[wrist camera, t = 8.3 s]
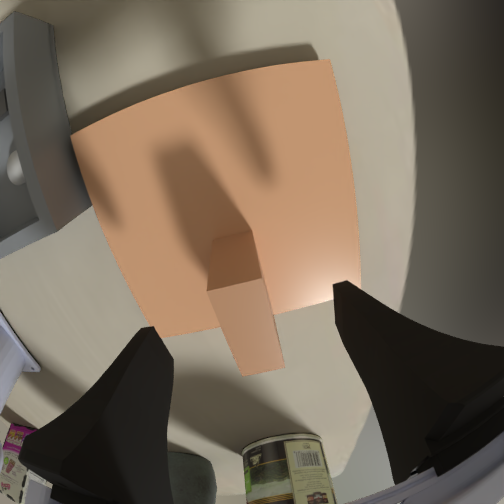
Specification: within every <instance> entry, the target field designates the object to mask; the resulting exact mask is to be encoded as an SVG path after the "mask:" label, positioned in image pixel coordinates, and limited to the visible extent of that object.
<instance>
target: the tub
mask: <svg viewBox="0 0 504 504" xmlns="http://www.w3.org/2000/svg"><path fill="white" fill-rule="evenodd" d="M71 135H72V132H71V129H70V125H69V121H68V116H67V112H66V108H65V103H64V99H63V94H62V88H61V83H60V77H59V71H58V65H57V58H56V50H55V40H54V29H53V25H51V24H49V23H46V22H44V21H41V20H38V19H36V18H33V17H30V16H27V15H25V14H22V13H19V12H16V11H14V12H13V13H12V14H10V15H9V16H8V17H7V18H6V19H5V20H4V21H3V22H2V23H1V24H0V259H1V258H3V257H5V256H7V255H9V254H11V253H13V252H15V251H17V250H19V249H21V248H23V247H25V246H27V245H29V244H31V243H33V242H35V241H37V240H40V239H42V238H44V237H46V236H48V235H51V234H53V233H55V232H57V231H59V230H60V229H61V228H62V227H64V226H65V225H66V224H68V223H69V222H70V221H72V220H73V219H74V218H76V217H77V216H78V215H80V214H81V213H82V212H84V211H85V210H87V209H88V208H89V207H91V206H92V202H91V199H90V197H89V194H88V191H87V188H86V185H85V183H84V180H83V177H82V174H81V171H80V167H79V164H78V161H77V158H76V154H75V151H74V148H73V144H72V141H71V137H70V136H71Z"/></svg>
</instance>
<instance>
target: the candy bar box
mask: <svg viewBox="0 0 504 504" xmlns="http://www.w3.org/2000/svg"><path fill="white" fill-rule="evenodd" d="M36 430H38V429H33V428H29V427H24V426H20V425H16V424H12V423H11V426H10V428H9V431H8V433H7V436H6V439H5V442H4V445H3V448H2V449H3V455H4V458H3V466H2V470H1V473H0V492H1V493H2V494H4V495H5V496H7V497H8V498H10V499H12V500H13V501H14V502H16V503H18V504H24V503H25V498H26V494H27V489H28V485H29V481H30V480H34V481H36V482H38V483H40V484H43V485H45V486H46V481H47V480H45V479H43V478H42V477H40V476H38V475H37V474H35V473H34V472H32V471H31V470H29V469H28V468H26V467H25V466H24V465H22V464H21V463H20V462H19V460H18V456H19V453H20V450H21V447H22V444H23V441H24V438H25V436H27V435H29V434H31V433H33V432H34V431H36Z"/></svg>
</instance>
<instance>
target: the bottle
mask: <svg viewBox="0 0 504 504" xmlns="http://www.w3.org/2000/svg"><path fill="white" fill-rule="evenodd" d="M167 456H168V470H169V478H170V485H171V491H172V496H173V501H174V504H215V500H216V492H217V485H216V479H215V473H214V470H213V467H212V464H211V462H210V461H208V460H207V459H205V458H202V457H199V456H195V455H191V454H185V453H175V452H167Z"/></svg>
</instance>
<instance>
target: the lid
mask: <svg viewBox="0 0 504 504" xmlns="http://www.w3.org/2000/svg"><path fill="white" fill-rule="evenodd" d="M70 137H71V141H72V144H73V148H74V151H75V154H76V158H77V161H78V164H79V167H80V171H81V174H82V177H83V180H84V183H85V185H86V188H87V191H88V194H89V197H90V199H91V202H92V205H93V207H94V210H95V213H96V215H97V218H98V220H99V223H100V225H101V227H102V230H103V232H104V235H105V237H106V239H107V242H108V244H109V246H110V248H111V251H112V253H113V255H114V257H115V259H116V262H117V264H118V266H119V268H120V270H121V272H122V274H123V276H124V278H125V280H126V282H127V284H128V286H129V288H130V290H131V292H132V294H133V296H134V298H135V300H136V301H137V303H138V305H139V307H140V309H141V311H142V313H143V314H144V316H145V318H146V320H147V321H148V323H149V325H150V327H151V326H154V327H155V329H156V331H157V333H158V334H159V336H160V338H164V337H170V336H176V335H182V334H187V333H192V332H198V331H203V330H208V329H213V328H218V327H221V329H222V331H223V333H224V336H225V338H226V340H227V343H228V345H229V347H230V350H231V352H232V354H233V356H234V359H235V361H236V363H237V365H238V368H239V370H240V372H241V374H242V377H243V376H248V375H253V374H258V373H263V372H267V371H272V370H276V369H281V368H285V364H284V360H283V355H282V350H281V346H280V341H279V337H278V332H277V328H276V323H275V319H274V315H276V314H280V313H284V312H288V311H291V310H295V309H299V308H303V307H307V306H310V305H314V304H318V303H321V302H325V301H329V300H332V299H334V297H333V286H332V284H335V283H338V282H342V281H345V280H348V281H349V282H351V283H352V284H354V285H355V286H357V287H358V288H360V289H361V267H360V246H359V230H358V218H357V207H356V197H355V188H354V180H353V172H352V165H351V158H350V152H349V146H348V140H347V134H346V128H345V123H344V118H343V113H342V108H341V103H340V99H339V94H338V90H337V85H336V81H335V77H334V73H333V69H332V65H331V62H330V59H328V60H315V61H304V62H296V63H288V64H280V65H274V66H268V67H262V68H256V69H251V70H246V71H241V72H237V73H232V74H228V75H224V76H220V77H216V78H212V79H208V80H205V81H201V82H198V83H194V84H191V85H188V86H184V87H181V88H178V89H175V90H172V91H169V92H166V93H163V94H161V95H158V96H155V97H152V98H150V99H147V100H145V101H142V102H140V103H137V104H135V105H132V106H130V107H128V108H125V109H123V110H121V111H118V112H116V113H114V114H112V115H110V116H108V117H105V118H103V119H101V120H99V121H97V122H95V123H93V124H91V125H89V126H87V127H85V128H83V129H82V130H80V131H78V132H76V133H74V134H72V135H71V136H70Z"/></svg>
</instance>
